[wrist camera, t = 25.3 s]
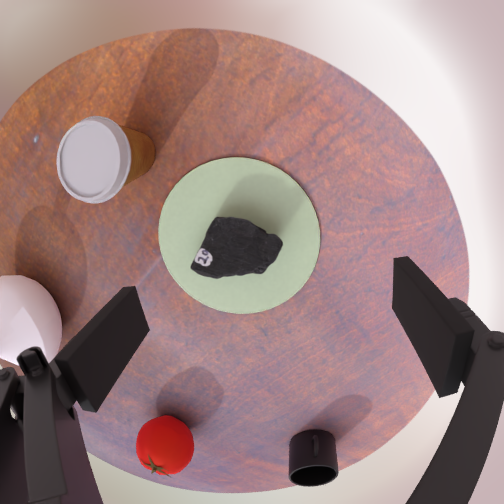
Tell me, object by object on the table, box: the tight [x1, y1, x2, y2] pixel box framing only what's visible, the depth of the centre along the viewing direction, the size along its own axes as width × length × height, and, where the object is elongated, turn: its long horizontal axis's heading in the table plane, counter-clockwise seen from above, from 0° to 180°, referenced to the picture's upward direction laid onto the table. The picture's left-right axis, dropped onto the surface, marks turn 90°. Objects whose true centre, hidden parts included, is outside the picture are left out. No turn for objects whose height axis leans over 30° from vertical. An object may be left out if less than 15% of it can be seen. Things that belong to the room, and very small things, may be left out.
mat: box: [158, 157, 320, 314], centre depth 42 cm, size 22×22×1 cm
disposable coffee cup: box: [57, 116, 155, 203], centre depth 34 cm, size 10×10×12 cm
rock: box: [190, 217, 283, 279], centre depth 39 cm, size 9×10×6 cm
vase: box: [0, 275, 62, 365], centre depth 41 cm, size 18×18×19 cm
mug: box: [289, 430, 338, 486], centre depth 50 cm, size 9×12×9 cm
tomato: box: [136, 415, 194, 477], centre depth 50 cm, size 12×12×13 cm
